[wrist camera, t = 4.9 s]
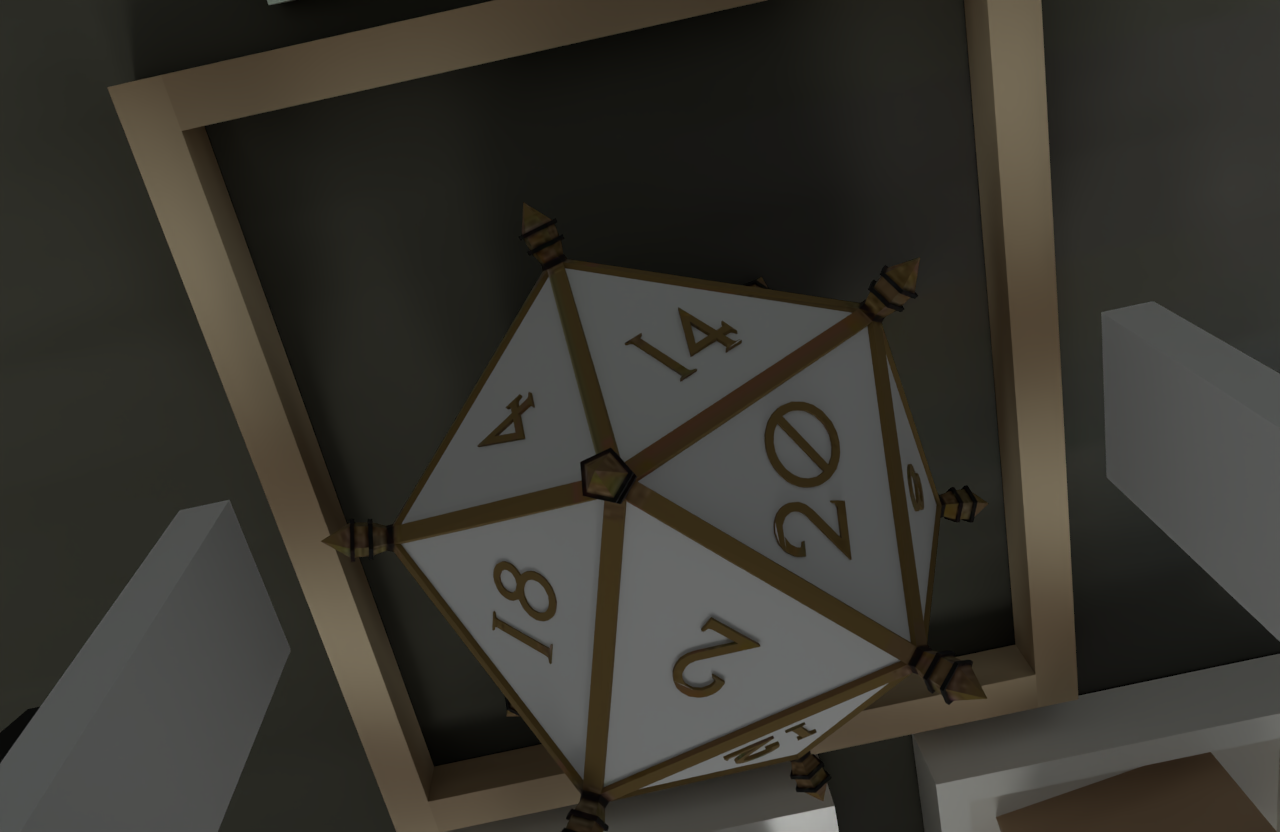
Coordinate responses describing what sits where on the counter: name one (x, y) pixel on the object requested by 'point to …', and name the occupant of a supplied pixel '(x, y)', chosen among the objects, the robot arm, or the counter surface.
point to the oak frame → (297, 474)
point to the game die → (683, 524)
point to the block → (1148, 803)
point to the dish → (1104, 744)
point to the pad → (278, 1)
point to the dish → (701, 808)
